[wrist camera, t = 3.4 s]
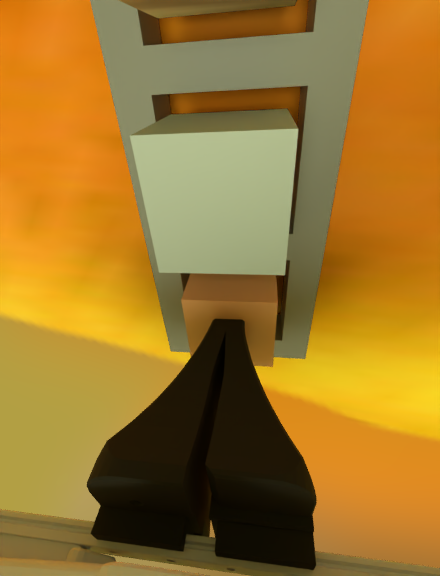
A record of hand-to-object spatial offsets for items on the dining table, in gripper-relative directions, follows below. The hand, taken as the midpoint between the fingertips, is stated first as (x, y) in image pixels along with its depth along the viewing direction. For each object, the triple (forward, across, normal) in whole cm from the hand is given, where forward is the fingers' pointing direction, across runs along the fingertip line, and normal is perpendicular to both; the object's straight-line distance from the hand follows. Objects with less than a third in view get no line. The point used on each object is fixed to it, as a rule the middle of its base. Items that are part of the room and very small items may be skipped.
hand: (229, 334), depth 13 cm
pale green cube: (+2, 0, -6) cm, 7 cm away
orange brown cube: (+4, 0, 0) cm, 4 cm away
